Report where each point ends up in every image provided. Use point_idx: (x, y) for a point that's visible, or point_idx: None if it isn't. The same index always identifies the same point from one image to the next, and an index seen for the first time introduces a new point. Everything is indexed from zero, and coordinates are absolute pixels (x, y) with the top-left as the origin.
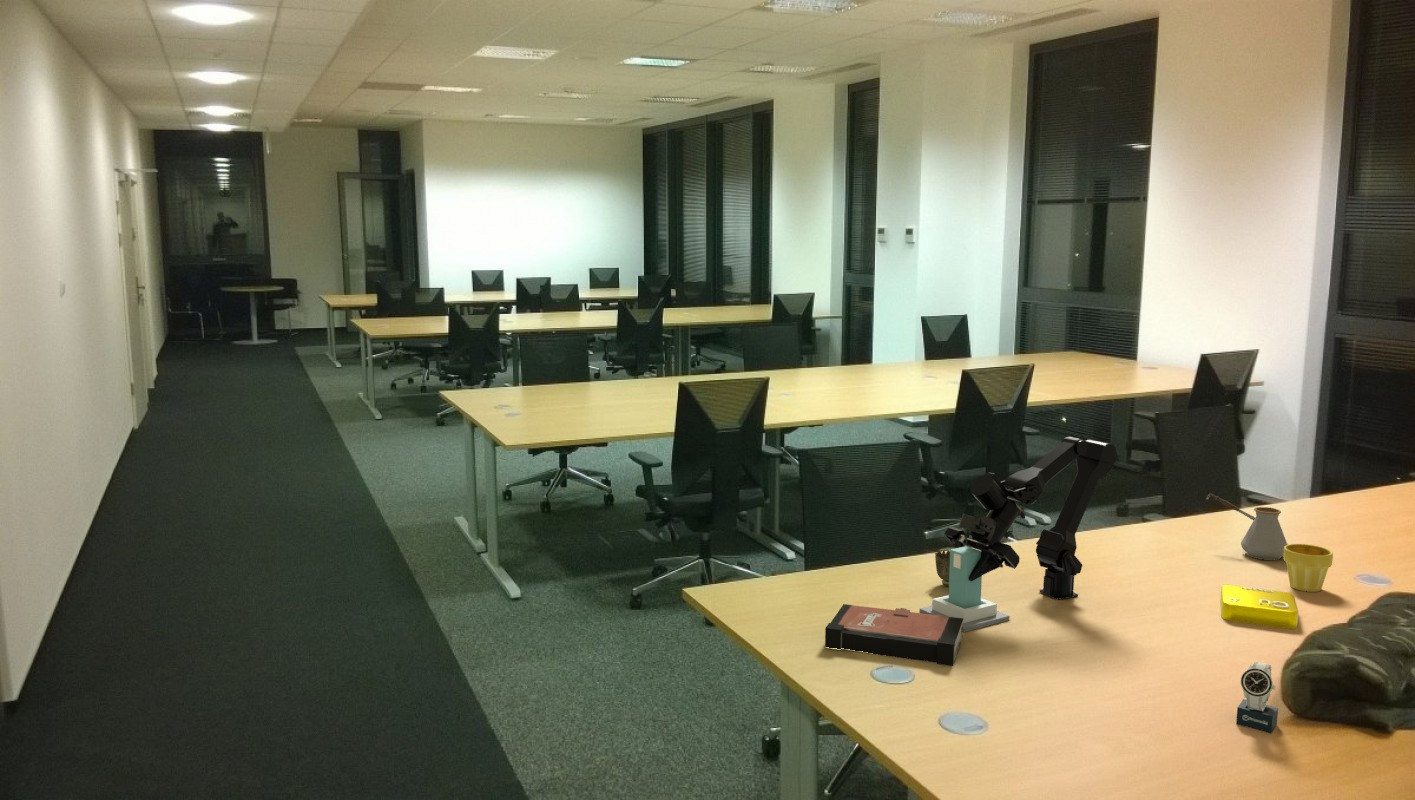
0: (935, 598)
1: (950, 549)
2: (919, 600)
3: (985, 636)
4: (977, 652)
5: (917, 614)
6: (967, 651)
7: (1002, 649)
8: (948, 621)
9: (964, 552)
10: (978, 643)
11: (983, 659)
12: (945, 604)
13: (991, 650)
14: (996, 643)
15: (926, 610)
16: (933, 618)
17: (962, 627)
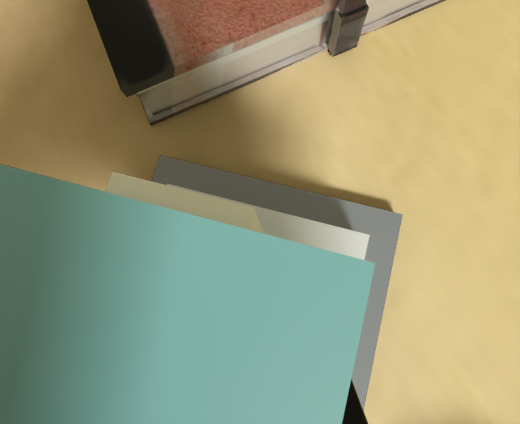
0: (363, 251)
1: (371, 267)
2: (495, 353)
3: (92, 178)
4: (60, 49)
5: (286, 2)
6: (87, 35)
7: (7, 119)
8: (152, 23)
9: (64, 284)
10: (86, 110)
11: (27, 19)
12: (282, 213)
13: (32, 89)
14: (40, 149)
15: (367, 213)
16: (214, 10)
17: (168, 157)
